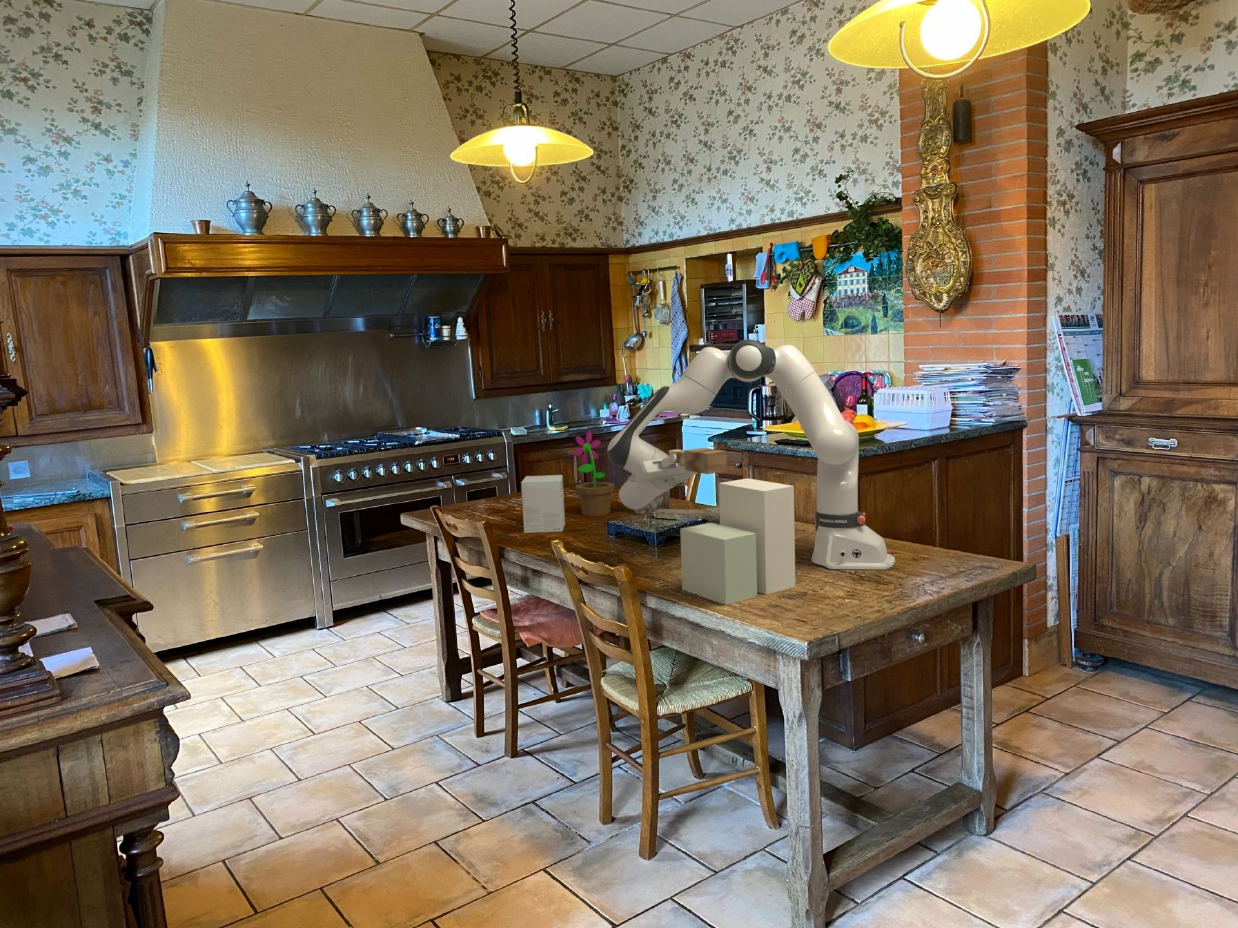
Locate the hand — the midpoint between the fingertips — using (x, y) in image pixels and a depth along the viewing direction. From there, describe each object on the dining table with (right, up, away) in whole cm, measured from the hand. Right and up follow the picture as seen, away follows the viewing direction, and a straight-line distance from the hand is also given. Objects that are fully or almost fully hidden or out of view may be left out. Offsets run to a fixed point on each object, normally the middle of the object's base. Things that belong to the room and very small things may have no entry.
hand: (683, 455), depth 234 cm
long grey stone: (+12, -22, +84) cm, 87 cm away
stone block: (-5, -20, +99) cm, 101 cm away
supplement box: (-42, -24, +79) cm, 93 cm away
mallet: (+2, -3, -3) cm, 5 cm away
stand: (+14, -34, -2) cm, 37 cm away
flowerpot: (-25, -20, +102) cm, 107 cm away
